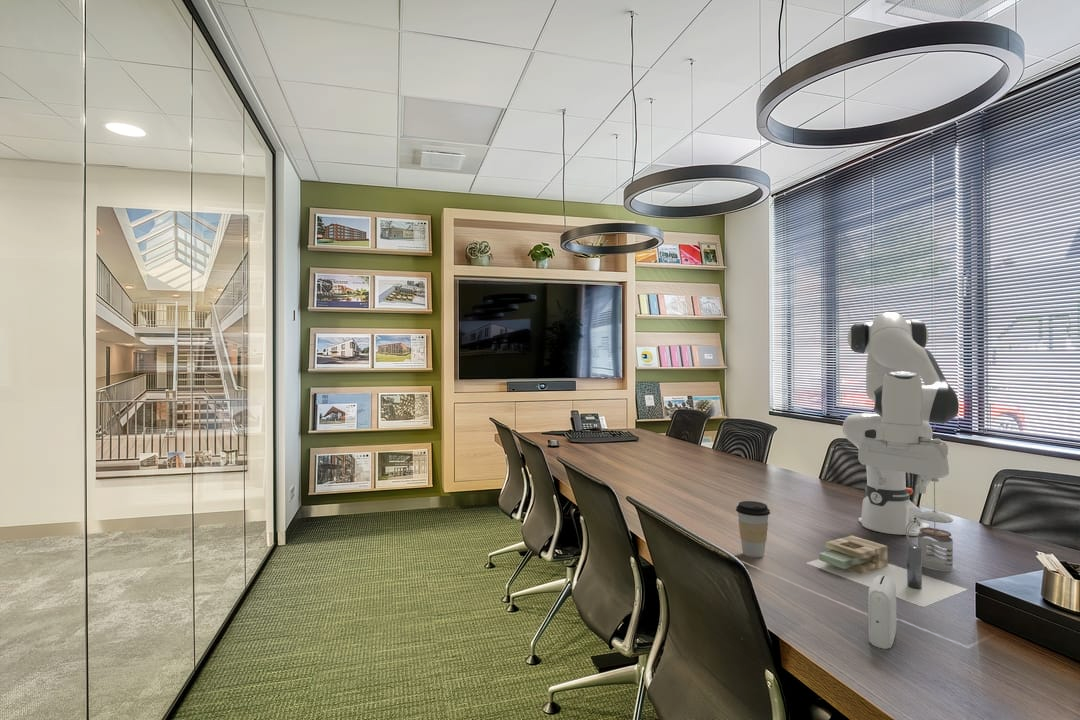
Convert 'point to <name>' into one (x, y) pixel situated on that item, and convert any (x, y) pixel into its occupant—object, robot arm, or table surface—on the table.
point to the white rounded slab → (882, 611)
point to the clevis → (855, 554)
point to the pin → (914, 567)
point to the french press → (940, 535)
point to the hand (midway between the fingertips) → (900, 488)
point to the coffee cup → (753, 527)
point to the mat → (898, 583)
